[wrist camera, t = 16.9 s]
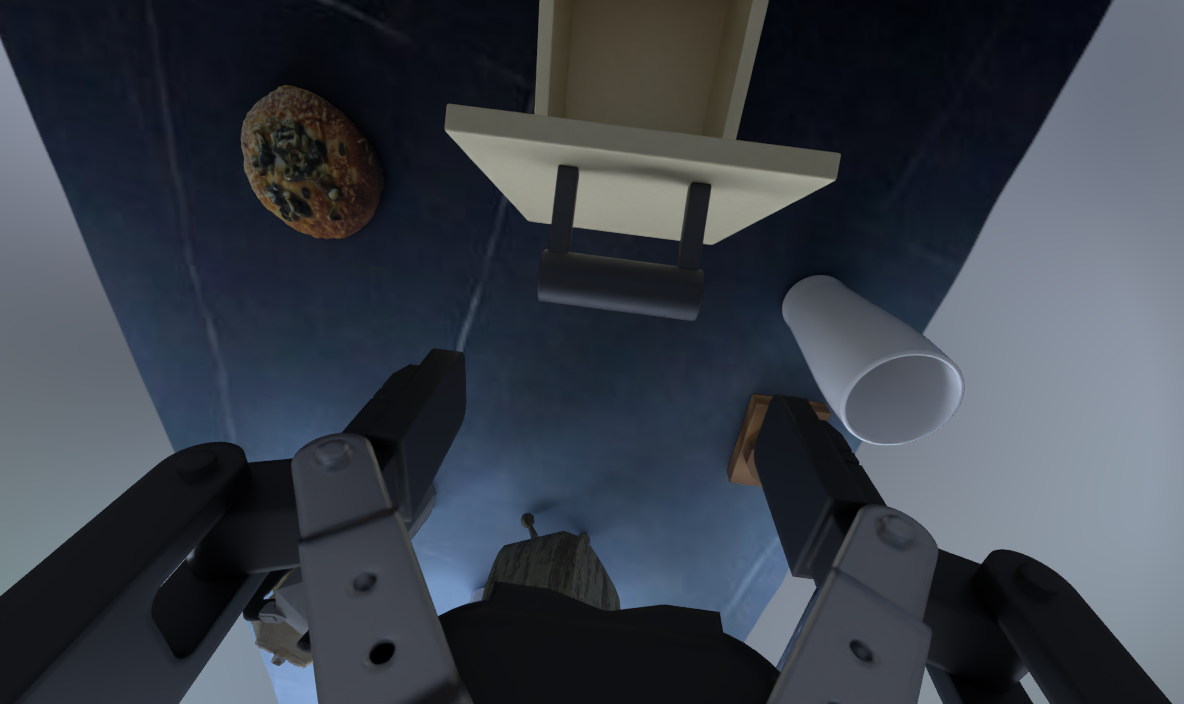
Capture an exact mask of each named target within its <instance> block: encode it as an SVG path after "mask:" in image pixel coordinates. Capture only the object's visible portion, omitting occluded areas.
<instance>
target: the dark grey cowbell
mask: <svg viewBox="0 0 1184 704" xmlns="http://www.w3.org/2000/svg"><path fill="white" fill-rule="evenodd" d="M534 522H535V520H534V516H533V515H532V514H530V513H526V514H524V515H523V516H522V518H521V524H522V526H524V527H525V528H528V529H529V532H530V536H531V539H528V540H524V541H520V542H516V543H512V544H508V545H504V546H503V547H502V549H501V550H500V551H499V553H498V555H497V557H496V559H495V561H494V563H493V566H492V569H491V572H490V574H489V577H488V580H487V583H486V586H485V589H484V592H483V596H482V600H489V599H490V596H491V593H492V589H493V586H494V582H495V581H498V582H505V583H512V584H520V585H527V586H534V587H541V588H549V589H552V590H554V591H557V592H559V593H562V594H564V595H567V596H569V597H572V598H574V599H577V600H579V601H582V602H584V603H586V604H589V605H591V606H594V607H596V608H599V609H602V610H606V611H614V610H620V601H619V597H618V594H617V591H616V589H615V586H614V584H613V583H612V581H611V579H610V577H609V575H608V574H607V572H606V570H605V568H604V566H603V565H602V563H601V561H600V560H599V558H598V557H597V555H596V554H595V552H594V551H593V549H592V548H591V546H590V545H589V543H590V539H589V536H588V535H587V534H584V533H582V534H579V535H578V536H576V535H574V534H571V533H568V532H566V531H561V532H557V533H553V534H549V535H545V536H540V537H538V535H537V533H536V531H535V529H534V528H533V524H534Z"/></svg>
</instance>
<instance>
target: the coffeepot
mask: <svg viewBox="0 0 1184 704" xmlns="http://www.w3.org/2000/svg"><path fill="white" fill-rule="evenodd" d="M435 495H436V492H435V490H434V488H433V487H432V485H430V487H429V489H428V490H427V492H426V494H425V496H424V498H423V500H422V502H421V504H420V506H419V508H418V510H417V512H416V514H415V516H414V517H413V519H412V521H411V522H404V523H405V526H406V529H407V532H408V535H409V537H410V540H412V538H413V537H414V536H415V534H416V533H417V532H418V530H419V529H420V528H421V526H422V525H423V524H424V522H425V521H426V520H427V518H428V517H429V515H430V514H431V512H432V508H433V505H434V501H435ZM293 569H294V568H288V569H281V570H275V571H270V572H269V574H268V575H267V577H266V578H265V579H264V581H263V582H262V584H261V585H260V587H259V588H258V590H257V591H256V593H255V594H254V595H253V597H252V598H251V600H250V601H249V603H248V604H247V606H246V607H245V608H244V610H243V617H244V619H245V620H247V621H264V622H265V623H277V624H280V623H282V622H283V621H286V622H287V623H288V624H289V625H290V626H292V627H293V628H294V629H295V630H297V631H298V632H299V633H300V634H302V635H303V636H302V638H301V639H300V640H299V641H298V642H297V648H298V649H300V650H301V651H303V652H307V653H312V651H311V643H310V635H309V627H308V620H307V612H306V604H305V596H304V588H303V581H302V573H301V567H297V568H296V569H295V570H294V572H293V573H292V574H291V575H290V576H289V577H288V578H287V579H286V580H285V581H284V582H283V583H282V584H281V585H280V586H279V588H277V589H276V598H272V599H264V597H265V596H266V595H268V594H269V593H270V592H271V591H272V590H273V588H274V587H275V586H276V585H277V584H278V583H279V581H280V580H281V579H282V578H283V577H284V576H285V575H287V574H288V573H289V572H291V571H292V570H293Z"/></svg>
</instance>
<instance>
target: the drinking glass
mask: <svg viewBox="0 0 1184 704" xmlns="http://www.w3.org/2000/svg"><path fill="white" fill-rule="evenodd" d="M782 313H783V317H784V320H785V322H786V323H787V325H788V326H789V328H790V329H791V331H792V333H793V335H794V337H795V339H796V341H797V343H798V345H799V347H800V349H801V352H802V354H803V356H804V358H805V360H806V362H807V364H808V366H809V369H810V371H811V373H812V375H813V377H814V379H815V381H816V383H817V385H818V387H819V389H820V391H821V392H822V394H823V396H824V397H825V399H826V401H827V402H828V404H829V405H830V407H831V408H832V409H833V411H834V412H835V414H836V415H837V416H838V418H839V419H840V420H841V421H842V423H843V424H844V425H845V427H846V428H847V429H848V430H849V431H850V432H851V433H852V434H853V435H854V436H856V437H857V438H859V439H861V440H863V441H865V442H868V443H872V444H877V445H899V444H905V443H909V442H913V441H916V440H919V439H921V438H923V437H925V436H928V435H930V434H931V433H933V432H935V431H936V430H938V429H939V428H940V427H942V426H943V425H944V424H945V423H946V422H947V421H948V420H949V419H950V418H951V417H952V416H953V415H954V413H955V412H956V411H957V409H958V407H959V405H960V404H961V401H962V398H963V395H964V379H963V376H962V373H961V371H960V369H959V368H958V366H957V365H956V364H955V363H954V362H953V361H952V360H951V359H950V358H949V357H948V356H946V355H945V354H944V353H943V352H942V351H941V350H940V349H939V348H938V347H937V346H935V345H934V344H933V343H932V342H931V341H930V340H928V339H927V338H926V337H925V336H923V335H922V334H921V333H920V332H918V331H917V330H915V329H914V328H913V327H911V326H910V325H908V324H907V323H905V322H904V321H902V320H900V319H899V318H897V317H895V316H894V315H892V314H890V313H889V312H887V311H885V310H884V309H882V308H880V307H879V306H877V305H875V304H874V303H872V302H870V301H869V300H867V299H865V298H864V297H862V296H861V295H859V294H857V293H856V292H854V291H853V290H851V289H849V288H848V287H847V286H845V285H844V284H843V283H842V282H841V281H839V280H838V279H836V278H834V277H831V276H827V275H814V276H810V277H807V278H804V279H802V280H800V281H799V282H797V283H796V284H795V285H794V286H793V287H791V289H790V290H789V291H788V292H787V294H786V296H785V298H784V301H783V305H782Z"/></svg>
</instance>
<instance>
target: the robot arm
mask: <svg viewBox="0 0 1184 704" xmlns="http://www.w3.org/2000/svg"><path fill="white" fill-rule="evenodd" d="M465 410H466V371H465V356H464V353H463V352H458V351H451V350H443V349H436V348H434V349H432V350H431V351H430V352H429V354H428V355H427V356H426V357H425V359H424V360H423V361H422V362H421V364H420V365H412V364H410V365H408V366H406V367H404V368H402V369H401V370H399V371H397V372H395V373H393V374H392V375H391V376H390V378H389V379H388V380H387V381H386V382H385V383H384V385H383V386H382V389H381V388H380V389H379V390H378V391H377V393H376V394H375V395H374V397H373V399H371V400H370V401H369V402H368V403H367V404H366V405H365V406H364V408H363V409H362V410H361V411H360V412H359V413H358V415H357V416H356V417H355V418H354V419H353V420H352V421H351V423H350V424H349V425H348V426H347V427H346V428H345V430H344V431H343V432H342V433H337V434H331V435H326V436H323V437H320V438H318V439H315V440H313V441H311V442H309V443H308V444H306V445H305V446H303V447H302V448H301V449H300V450H299V451H298V452H297V453H296V454H295V456H294V457H293V458H292V459H283V460H272V461H262V462H251V463H248V462H247V459H246V456H245V453H244V451H243V449H242V448H241V447H239V446H238V445H236V444H232V443H228V442H210V443H204V444H199V445H195V446H192V447H189V448H186V449H183V450H181V451H179V452H177V453H175V454H173V455H171V456H169V457H167V458H166V459H164V460H163V461H161V462H160V463H159V464H158V465H156V466H155V467H154V468H153V469H152V470H150V471H149V472H148V473H147V474H146V475H145V476H143V477H142V478H141V479H140V480H138V481H137V482H136V483H135V484H134V485H133V486H131V487H130V488H129V489H128V490H127V491H125V492H124V493H123V494H122V495H121V496H120V497H118V498H117V499H116V500H115V501H113V502H112V503H111V504H110V505H109V506H108V507H106V508H105V509H104V510H103V511H102V512H100V513H99V514H98V515H97V516H96V517H95V518H93V519H92V520H91V521H90V522H89V523H87V524H86V525H85V526H84V527H82V528H81V529H80V530H79V531H78V532H76V533H75V534H74V535H73V536H72V537H71V538H69V539H68V540H67V541H66V542H65V543H63V544H62V545H61V546H60V547H59V548H57V549H56V550H55V551H54V552H53V553H51V554H50V555H49V556H48V557H47V558H46V559H44V560H43V561H42V562H41V563H40V564H38V565H37V566H36V567H35V568H34V569H33V570H31V571H30V572H29V573H28V574H26V575H25V576H24V577H23V578H22V579H20V580H19V581H18V582H17V583H16V584H14V585H13V586H12V587H11V588H10V589H8V591H6V592H5V593H4V594H3V595H1V596H0V704H179V703H180V701H181V700H182V698H183V697H184V696H185V694H186V693H187V691H188V690H189V688H190V687H191V685H192V684H193V682H194V681H195V680H196V678H197V677H198V675H199V674H200V672H201V671H202V669H203V668H204V666H205V665H206V664H207V662H208V661H209V659H210V658H211V656H212V655H213V653H214V652H215V651H216V649H217V648H218V646H219V645H220V643H221V642H222V640H223V639H224V637H225V636H226V635H227V633H228V632H229V630H230V629H231V627H232V626H233V624H234V623H235V622H236V620H237V619H238V617H239V616H240V614H241V613H242V611H243V610H244V608H245V607H246V606H247V604H248V603H249V601H250V600H251V598H252V597H253V595H254V594H255V593H256V591H257V590H258V588H259V587H260V585H261V584H262V582H263V581H264V579H265V578H266V577H267V575H268V574H269V572H270V571H275V570H281V569H288V568H295V567H301V573H302V581H303V588H304V596H305V604H306V612H307V620H308V627H309V635H310V643H311V651H312V658H313V666H314V674H315V682H316V690H317V697H318V704H917V703H918V698H919V693H920V689H921V684H922V679H923V674H924V670H925V666H926V668H927V670H928V673H929V675H930V677H931V679H932V681H933V683H934V685H935V688H936V690H937V692H938V694H939V696H940V698H941V700H942V702H943V704H1033V703H1032V701H1031V699H1030V698H1029V696H1028V694H1027V693H1026V691H1025V690H1024V688H1023V687H1022V685H1021V683H1020V681H1019V680H1020V679H1022V678H1023V677H1024V676H1025V675H1026V674H1027V673H1028V672H1030V673H1031V675H1032V677H1033V678H1034V680H1035V681H1036V683H1037V684H1038V686H1039V687H1040V689H1041V691H1042V692H1043V694H1044V695H1045V697H1046V698H1047V700H1048V701H1049V703H1050V704H1172V703H1171V702H1170V701H1169V699H1168V698H1167V697H1166V696H1165V695H1164V694H1163V692H1162V691H1161V690H1160V689H1159V688H1158V687H1157V685H1156V684H1155V683H1154V682H1153V681H1152V679H1151V678H1150V677H1149V676H1148V675H1147V674H1146V672H1145V671H1144V670H1143V669H1142V668H1141V666H1140V665H1139V664H1138V663H1137V662H1136V661H1135V659H1134V658H1133V657H1132V656H1131V655H1130V654H1129V652H1128V651H1127V650H1126V649H1125V648H1124V646H1123V645H1122V644H1121V643H1120V642H1119V640H1118V639H1117V638H1116V637H1115V636H1114V635H1113V633H1112V632H1111V631H1110V630H1109V629H1108V627H1107V626H1106V625H1105V624H1104V623H1103V622H1102V620H1101V619H1100V618H1099V617H1098V616H1097V615H1096V613H1095V612H1094V611H1093V610H1092V609H1091V608H1090V606H1089V605H1088V604H1087V603H1086V602H1085V600H1084V599H1083V598H1082V597H1081V596H1080V594H1079V593H1078V592H1077V591H1076V590H1075V589H1074V588H1073V587H1072V586H1071V584H1069V583H1068V582H1067V581H1066V580H1065V579H1064V578H1063V577H1062V576H1060V575H1059V574H1058V573H1056V572H1055V571H1054V570H1052V569H1051V568H1049V567H1048V566H1046V565H1044V564H1043V563H1041V562H1039V561H1037V560H1035V559H1033V558H1031V557H1029V556H1027V555H1024V554H1022V553H1018V552H1015V551H1011V550H1004V549H1000V550H995V551H992V552H991V553H990V554H989V555H988V556H987V558H986V559H985V560H984V562H983V563H982V564H979V563H976V562H974V561H971V560H968V559H965V558H963V557H960V556H957V555H955V554H952V553H949V552H946V551H943V550H941V549H939V548H938V547H937V544H936V542H935V540H934V539H933V537H932V536H931V535H930V533H929V532H928V531H927V530H926V529H925V528H924V527H923V526H922V525H921V524H920V523H918V522H917V521H916V520H914V519H913V518H911V517H910V516H908V515H907V514H905V513H903V512H901V511H898V510H896V509H893V508H891V507H888V506H887V505H886V504H885V502H884V500H883V499H882V497H881V496H880V494H879V492H878V491H877V489H876V488H875V486H874V485H873V483H872V482H871V480H870V478H869V477H868V475H867V474H866V472H865V470H864V469H863V467H862V466H861V465H859V461H858V459H857V458H856V456H855V454H854V453H851V448H850V446H849V445H848V443H847V442H846V440H845V438H844V437H843V435H842V434H841V433H840V432H838V431H837V430H836V429H835V428H834V427H833V426H831V425H830V424H829V423H828V422H827V421H826V420H820V419H819V418H818V416H817V414H816V413H815V411H814V409H813V407H812V406H811V404H810V402H809V401H808V400H807V399H805V398H799V397H791V396H784V395H774V396H773V397H772V399H771V401H770V403H769V406H768V409H767V411H766V414H765V417H764V420H763V422H762V425H761V428H760V431H759V434H758V436H757V439H756V442H755V447H754V463H755V467H756V470H757V473H758V476H759V479H760V482H761V485H762V488H763V491H764V494H765V497H766V500H767V503H768V506H769V509H770V511H771V514H772V517H773V520H774V523H775V526H776V529H777V532H778V535H779V538H780V541H781V544H782V547H783V550H784V553H785V556H786V559H787V562H788V565H789V568H790V570H791V573H792V576H794V577H801V578H808V579H814V582H815V585H816V587H817V588H816V590H815V591H814V593H813V595H812V597H811V599H810V601H809V603H808V605H807V607H806V609H805V611H804V613H803V615H802V617H801V619H800V621H799V623H798V625H797V627H796V629H795V631H794V633H793V635H792V637H791V639H790V641H789V643H788V645H787V647H786V649H785V651H784V653H783V655H782V657H781V659H780V661H779V663H778V664H777V666H776V668H775V667H774V666H773V665H772V664H771V663H770V662H769V661H768V660H767V659H766V658H764V657H763V656H762V655H761V654H759V653H758V652H757V651H755V650H754V649H752V648H751V647H749V646H748V645H746V644H745V643H743V642H742V641H740V640H738V639H736V638H734V637H732V636H730V635H728V634H726V633H723V629H722V623H721V617H720V612H715V611H708V610H701V609H693V608H686V607H679V606H672V605H656V606H647V607H639V608H631V609H623V610H614V611H606V610H602V609H599V608H596V607H594V606H591V605H589V604H586V603H584V602H582V601H579V600H577V599H574V598H572V597H569V596H567V595H564V594H562V593H559V592H557V591H554V590H552V589H549V588H541V587H534V586H527V585H520V584H512V583H505V582H498V581H495V582H494V586H493V589H492V593H491V596H490V599H489V600H481V601H477V602H472V603H468V604H465V605H462V606H459V607H457V608H454V609H452V610H450V611H448V612H446V613H444V614H442V615H440V616H438V615H437V613H436V610H435V607H434V604H433V602H432V599H431V596H430V593H429V590H428V588H427V585H426V582H425V579H424V576H423V574H422V571H421V568H420V565H419V563H418V560H417V557H416V554H415V551H414V549H413V546H412V543H411V540H410V537H409V535H408V532H407V529H406V526H405V523H404V522H411V521H412V519H413V517H414V516H415V514H416V512H417V510H418V508H419V506H420V504H421V502H422V500H423V498H424V496H425V494H426V492H427V490H428V489H429V487H430V485H431V483H432V481H433V479H434V477H435V475H436V473H437V471H438V469H439V467H440V465H441V464H442V462H443V460H444V458H445V456H446V454H447V452H448V450H449V448H450V446H451V444H452V442H453V440H454V438H455V437H456V435H457V433H458V431H459V429H460V427H461V425H462V422H463V419H464V415H465ZM184 559H185V560H184ZM183 560H184V561H183ZM182 561H183V562H182ZM181 562H182V564H181V565H180V563H181ZM179 565H180V566H179ZM178 566H179V567H178ZM177 567H178V568H177ZM176 568H177V569H176ZM175 569H176V570H175ZM174 570H175V572H174V573H173V574H172V572H173V571H174ZM171 574H172V575H171ZM170 575H171V576H170ZM169 576H170V577H169ZM168 577H169V578H168ZM167 578H168V580H166V579H167ZM165 580H166V582H165V583H164V581H165ZM163 583H164V584H163ZM162 584H163V585H162ZM161 585H162V586H161Z"/></svg>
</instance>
